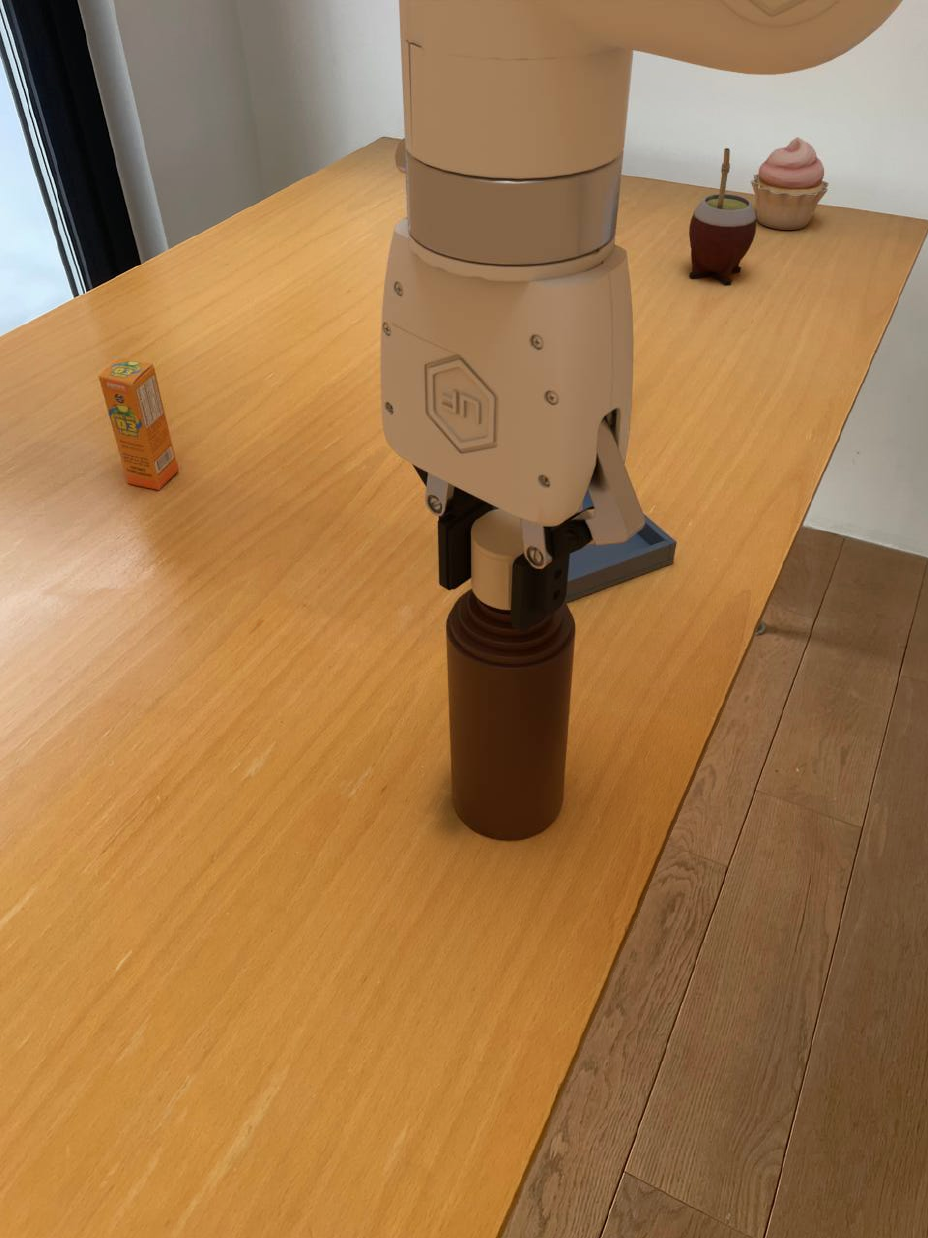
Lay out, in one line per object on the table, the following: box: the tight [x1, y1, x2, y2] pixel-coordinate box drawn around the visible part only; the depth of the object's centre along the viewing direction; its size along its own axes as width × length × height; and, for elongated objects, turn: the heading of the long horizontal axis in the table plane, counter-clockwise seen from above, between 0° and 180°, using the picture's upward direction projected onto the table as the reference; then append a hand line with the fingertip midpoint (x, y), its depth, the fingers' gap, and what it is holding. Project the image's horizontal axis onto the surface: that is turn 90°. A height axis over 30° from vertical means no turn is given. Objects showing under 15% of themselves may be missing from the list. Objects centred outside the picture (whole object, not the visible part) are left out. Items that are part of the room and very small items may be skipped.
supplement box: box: [98, 356, 179, 491], centre depth 80 cm, size 3×3×10 cm
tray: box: [493, 490, 678, 604], centre depth 75 cm, size 13×11×2 cm
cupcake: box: [750, 136, 830, 231], centre depth 123 cm, size 9×9×10 cm
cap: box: [470, 509, 524, 610], centre depth 47 cm, size 4×4×3 cm
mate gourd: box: [688, 147, 757, 286], centre depth 109 cm, size 8×8×15 cm
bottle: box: [445, 588, 577, 840], centre depth 52 cm, size 6×6×18 cm
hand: (500, 591), depth 48 cm, fingers closed on cap, 3 cm apart
